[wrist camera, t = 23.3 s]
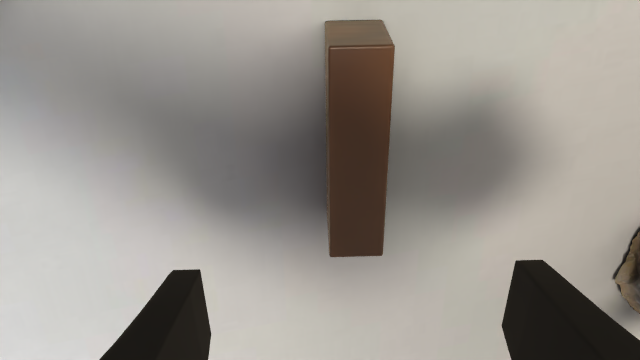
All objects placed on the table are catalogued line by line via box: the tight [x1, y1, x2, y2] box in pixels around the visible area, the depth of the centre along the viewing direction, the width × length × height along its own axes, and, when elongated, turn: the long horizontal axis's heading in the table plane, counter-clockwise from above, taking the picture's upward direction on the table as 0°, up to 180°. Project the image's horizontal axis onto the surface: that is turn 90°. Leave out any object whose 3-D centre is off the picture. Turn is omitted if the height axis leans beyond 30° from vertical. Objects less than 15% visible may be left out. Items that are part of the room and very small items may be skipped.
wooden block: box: [325, 20, 395, 257], centre depth 19 cm, size 2×8×3 cm, turn 1°
